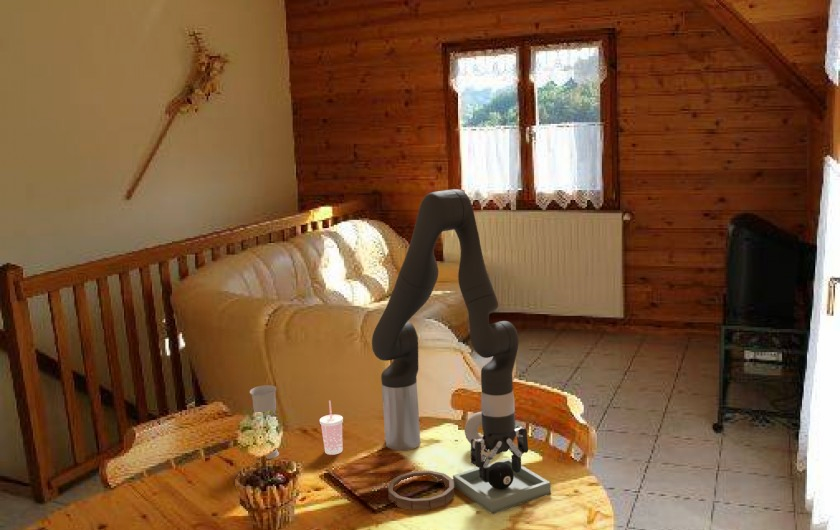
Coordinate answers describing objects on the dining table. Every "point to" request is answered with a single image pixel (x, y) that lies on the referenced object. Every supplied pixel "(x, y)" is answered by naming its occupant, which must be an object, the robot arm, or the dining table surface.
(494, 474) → the billiard ball
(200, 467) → the dining table surface
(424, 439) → the dining table surface
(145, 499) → the dining table surface
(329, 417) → the beverage cup
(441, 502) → the walnut ring
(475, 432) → the donut
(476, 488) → the tray
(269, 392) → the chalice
